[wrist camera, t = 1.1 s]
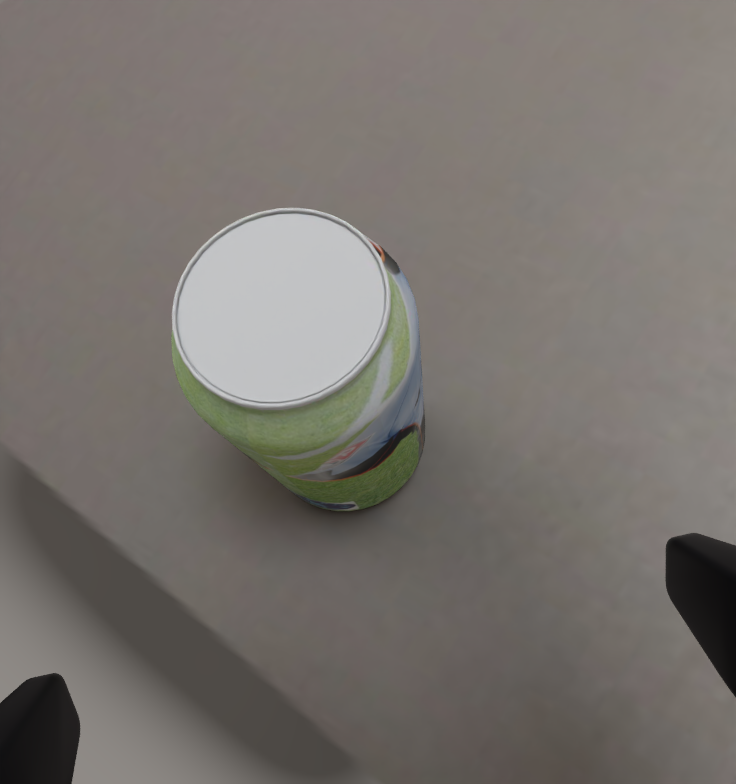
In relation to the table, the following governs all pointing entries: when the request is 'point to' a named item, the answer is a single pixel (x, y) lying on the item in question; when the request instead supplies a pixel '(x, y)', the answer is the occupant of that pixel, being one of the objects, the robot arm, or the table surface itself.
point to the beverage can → (304, 354)
